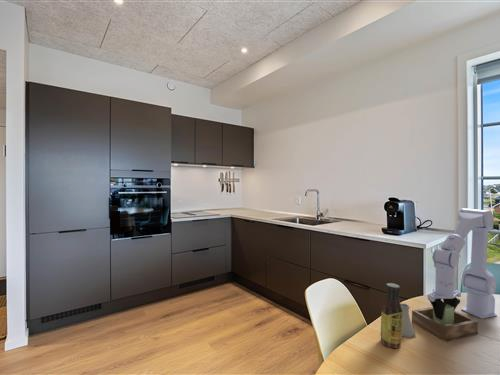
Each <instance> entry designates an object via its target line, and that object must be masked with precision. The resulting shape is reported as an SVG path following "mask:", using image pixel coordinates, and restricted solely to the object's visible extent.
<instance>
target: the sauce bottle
mask: <svg viewBox="0 0 500 375" xmlns="http://www.w3.org/2000/svg"><path fill="white" fill-rule="evenodd" d="M385 286H386V294H385V296H386V297H385V298H384V300H383V301H382V303H381V315H380V316H381V318H380V341H381V343H382V345H384V346H386V347H388V348H391V349H399V348H400V347H401V344H402V338H403V336H402V316H403V311H402V308H401V304H400V303H401V301H400V290H401V287H400V285H399V284H396V283H393V282H388V283H386V284H385Z"/></svg>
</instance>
